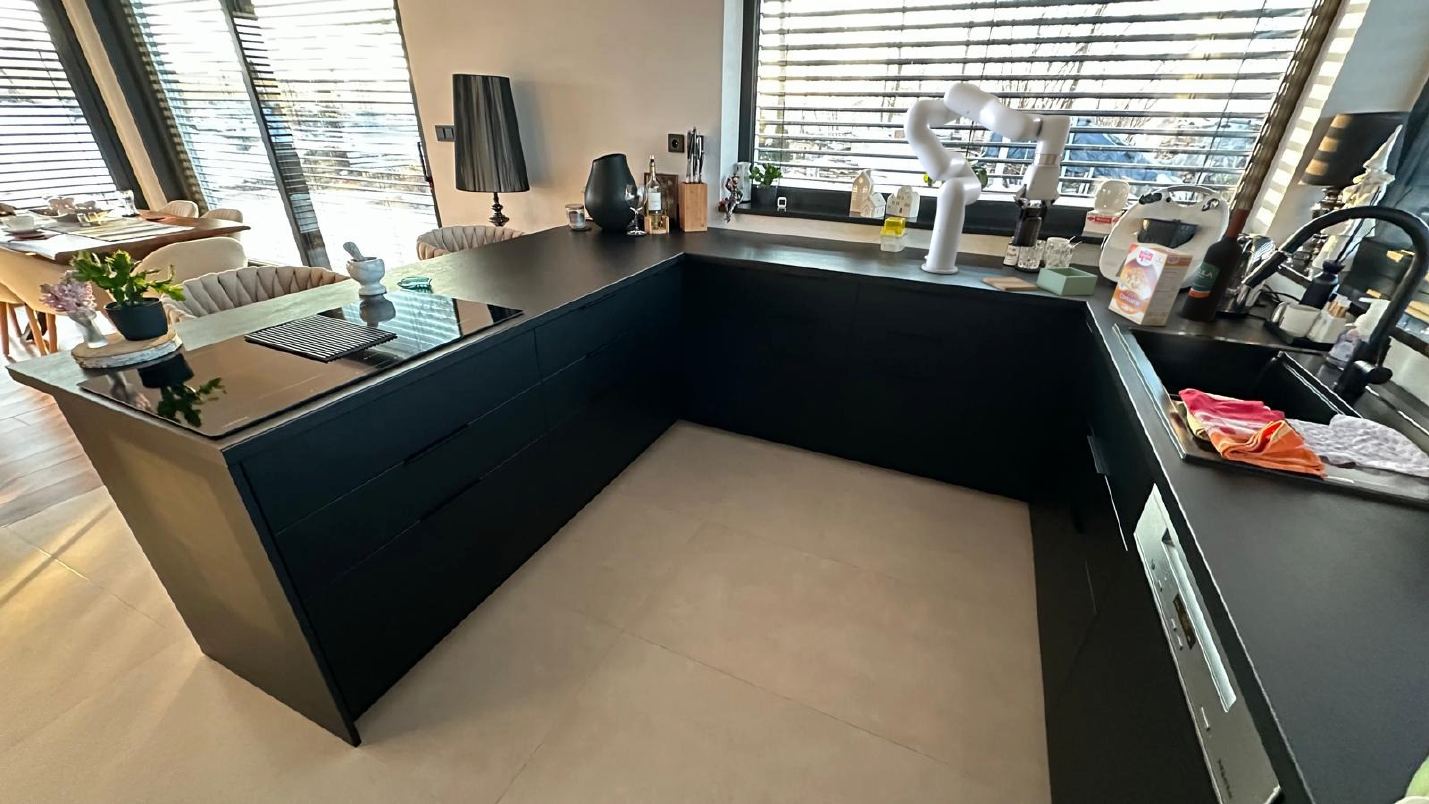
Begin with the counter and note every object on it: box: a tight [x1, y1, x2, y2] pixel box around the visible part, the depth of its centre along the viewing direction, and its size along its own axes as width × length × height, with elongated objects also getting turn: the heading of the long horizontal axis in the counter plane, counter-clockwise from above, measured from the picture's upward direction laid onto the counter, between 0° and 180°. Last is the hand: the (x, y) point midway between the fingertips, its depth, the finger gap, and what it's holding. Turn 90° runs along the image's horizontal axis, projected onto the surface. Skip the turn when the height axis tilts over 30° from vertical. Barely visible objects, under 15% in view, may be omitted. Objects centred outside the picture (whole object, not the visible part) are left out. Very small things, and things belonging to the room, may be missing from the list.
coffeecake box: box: [1108, 242, 1194, 327], centre depth 155 cm, size 15×7×20 cm, turn 178°
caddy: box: [1035, 266, 1099, 297], centre depth 182 cm, size 12×12×6 cm
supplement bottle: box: [1011, 205, 1043, 248], centre depth 178 cm, size 7×7×12 cm
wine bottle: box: [1179, 207, 1251, 323], centre depth 154 cm, size 8×8×30 cm
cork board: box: [982, 276, 1039, 292], centre depth 187 cm, size 12×12×1 cm
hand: (1029, 220), depth 177 cm, fingers closed on supplement bottle, 6 cm apart
